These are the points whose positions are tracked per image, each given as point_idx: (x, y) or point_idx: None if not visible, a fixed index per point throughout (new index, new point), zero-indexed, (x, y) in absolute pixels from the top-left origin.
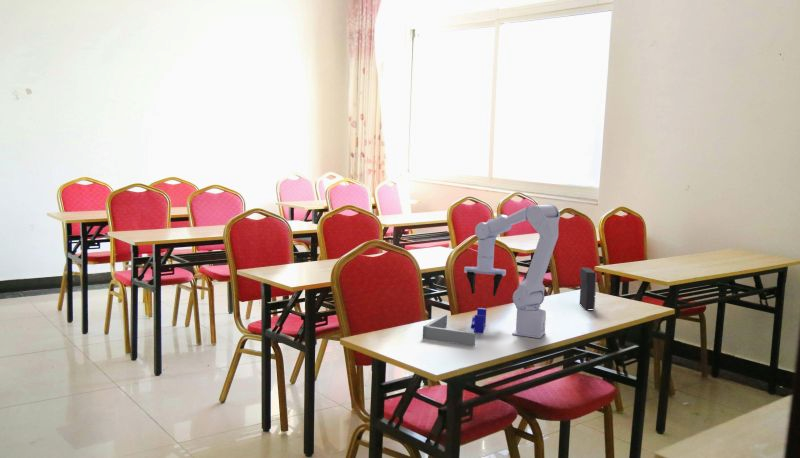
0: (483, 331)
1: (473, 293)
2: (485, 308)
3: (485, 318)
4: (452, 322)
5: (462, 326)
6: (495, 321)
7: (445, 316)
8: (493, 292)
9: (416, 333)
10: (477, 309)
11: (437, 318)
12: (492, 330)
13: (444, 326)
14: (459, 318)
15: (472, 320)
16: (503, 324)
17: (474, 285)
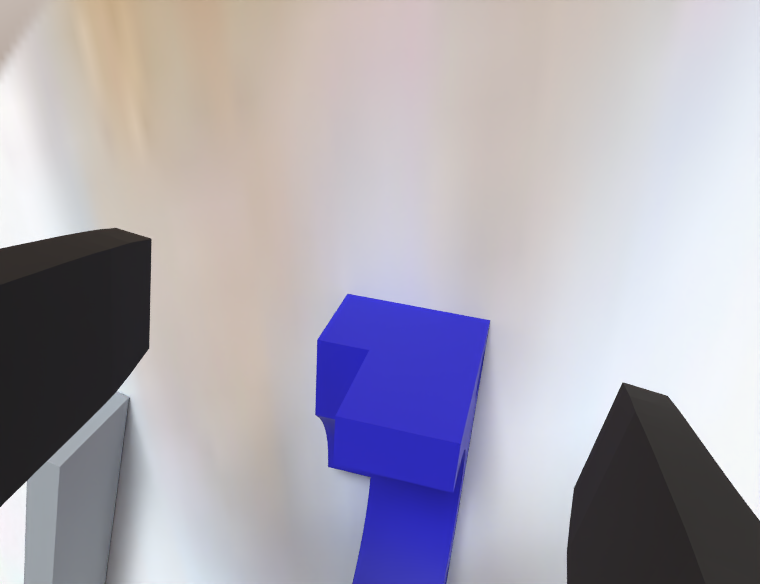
0: (452, 544)
1: (143, 351)
2: (446, 445)
3: (467, 435)
4: None
5: (259, 397)
6: (646, 140)
7: (63, 490)
8: (574, 569)
9: (5, 566)
10: (337, 457)
11: (29, 577)
12: (544, 510)
13: (119, 443)
14: (180, 72)
15: (327, 423)
16: (731, 282)
17: (14, 346)
